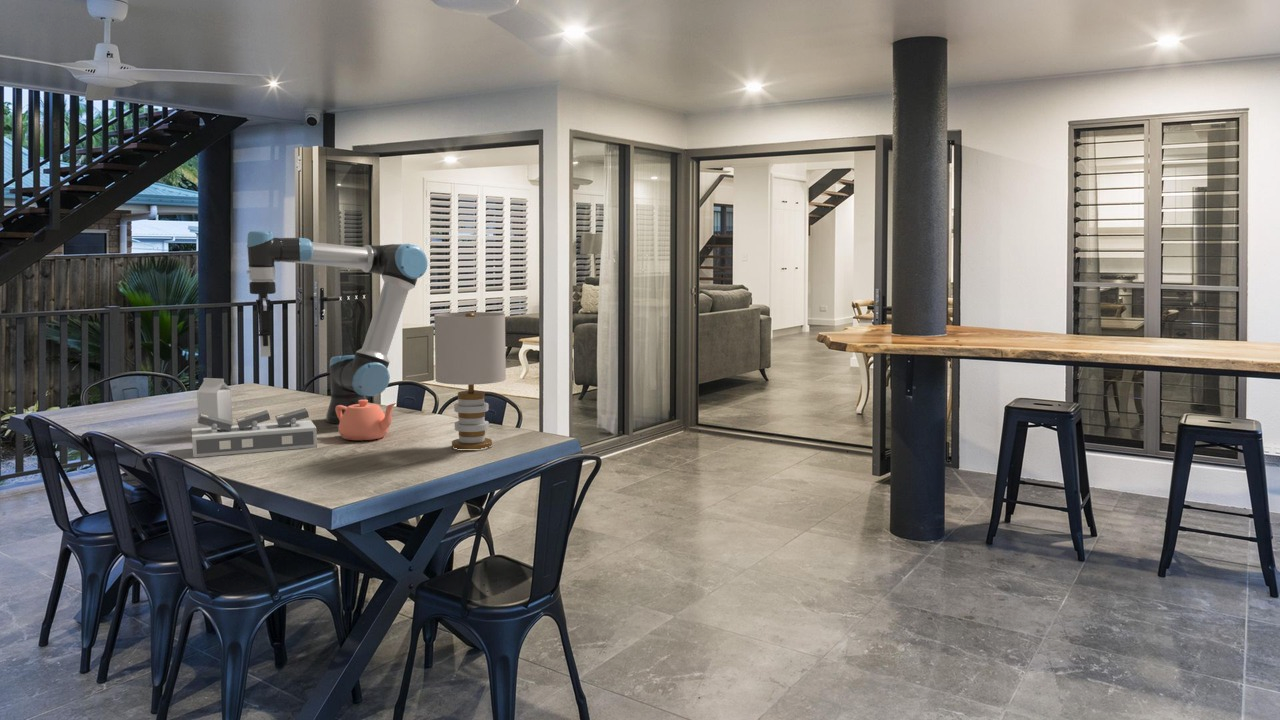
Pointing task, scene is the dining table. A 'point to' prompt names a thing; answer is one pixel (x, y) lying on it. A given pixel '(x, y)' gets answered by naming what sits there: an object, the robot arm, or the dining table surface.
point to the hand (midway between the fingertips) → (265, 356)
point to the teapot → (363, 421)
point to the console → (253, 438)
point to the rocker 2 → (292, 416)
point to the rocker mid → (253, 419)
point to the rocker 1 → (214, 422)
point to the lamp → (470, 367)
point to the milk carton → (214, 400)
